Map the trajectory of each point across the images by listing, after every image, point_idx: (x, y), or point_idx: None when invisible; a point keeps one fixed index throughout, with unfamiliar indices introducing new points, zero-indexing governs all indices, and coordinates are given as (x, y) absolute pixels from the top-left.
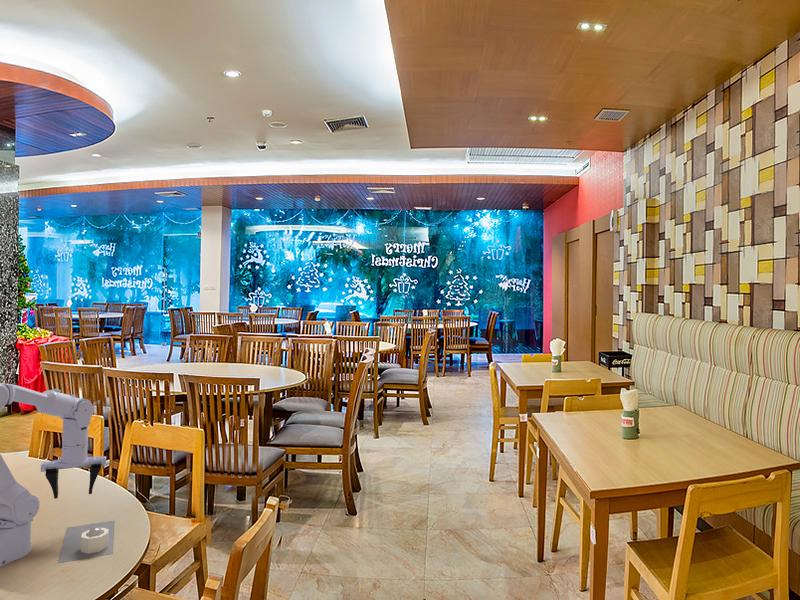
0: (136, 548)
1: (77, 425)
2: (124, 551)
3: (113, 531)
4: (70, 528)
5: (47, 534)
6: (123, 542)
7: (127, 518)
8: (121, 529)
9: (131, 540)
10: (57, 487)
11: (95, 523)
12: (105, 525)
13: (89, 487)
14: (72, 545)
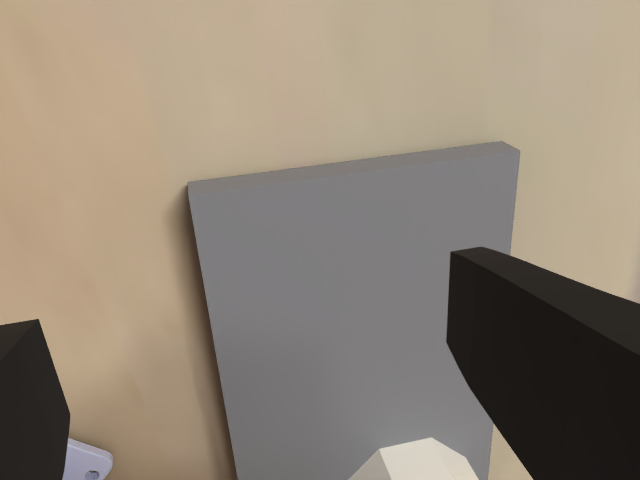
0: None
1: None
2: (517, 462)
3: None
4: (221, 220)
5: (39, 168)
6: None
7: (592, 20)
8: (532, 214)
9: None
10: (4, 474)
11: (392, 173)
12: (458, 229)
13: (501, 429)
14: (291, 462)
